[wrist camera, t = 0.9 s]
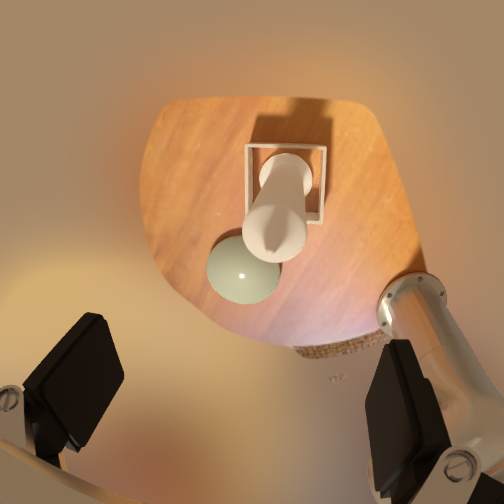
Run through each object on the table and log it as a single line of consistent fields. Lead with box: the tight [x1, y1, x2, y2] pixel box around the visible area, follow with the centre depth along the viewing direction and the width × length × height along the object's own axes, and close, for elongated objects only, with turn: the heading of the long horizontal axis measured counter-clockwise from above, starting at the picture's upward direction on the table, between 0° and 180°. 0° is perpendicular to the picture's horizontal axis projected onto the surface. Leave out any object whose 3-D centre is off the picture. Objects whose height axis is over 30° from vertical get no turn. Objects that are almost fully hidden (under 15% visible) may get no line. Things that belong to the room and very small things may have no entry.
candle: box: [242, 153, 313, 263], centre depth 29 cm, size 7×7×25 cm
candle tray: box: [245, 142, 327, 224], centre depth 39 cm, size 10×10×4 cm
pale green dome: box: [206, 235, 280, 304], centre depth 46 cm, size 11×11×1 cm
